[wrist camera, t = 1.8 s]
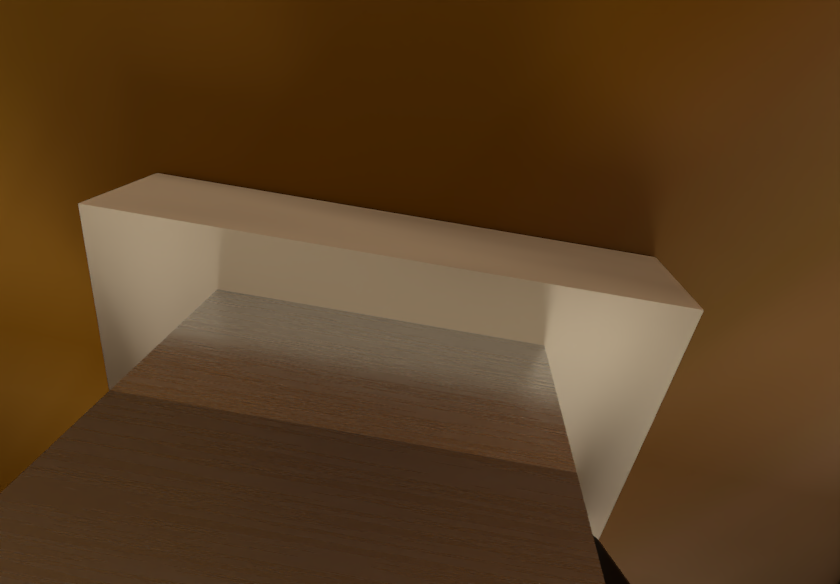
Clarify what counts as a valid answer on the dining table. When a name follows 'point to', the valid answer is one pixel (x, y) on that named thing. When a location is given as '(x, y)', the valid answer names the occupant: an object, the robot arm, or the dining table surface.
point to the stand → (401, 294)
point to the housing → (309, 461)
